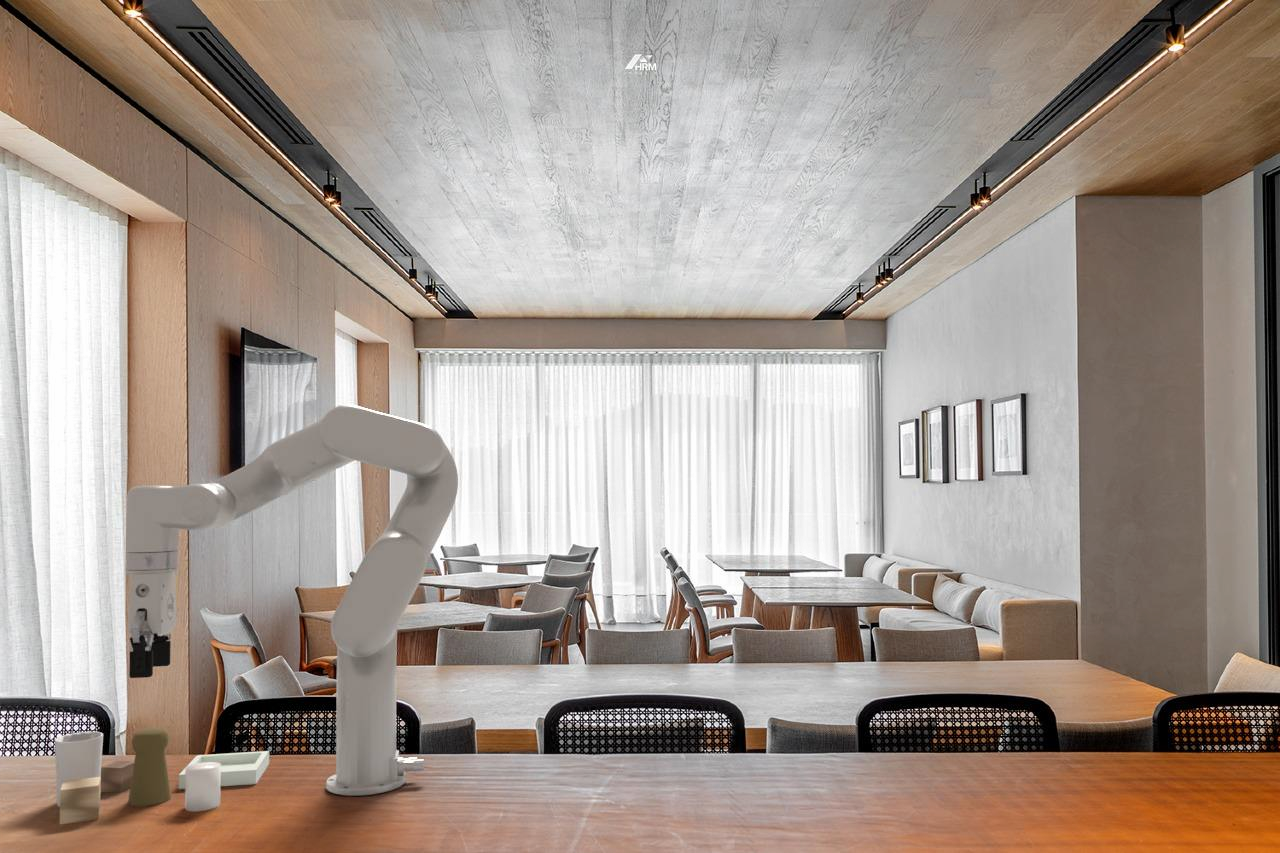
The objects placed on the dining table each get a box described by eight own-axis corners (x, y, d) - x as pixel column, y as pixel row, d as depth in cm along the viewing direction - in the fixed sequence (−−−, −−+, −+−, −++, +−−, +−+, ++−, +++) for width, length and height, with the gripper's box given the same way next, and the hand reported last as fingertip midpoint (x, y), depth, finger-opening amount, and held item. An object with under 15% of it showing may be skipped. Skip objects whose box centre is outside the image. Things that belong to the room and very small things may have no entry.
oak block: (100, 809, 152) (100, 776, 152) (98, 819, 148) (99, 785, 148) (62, 815, 150) (63, 781, 150) (59, 825, 145) (60, 790, 146)
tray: (269, 764, 176) (269, 750, 176) (256, 783, 164) (256, 769, 164) (196, 768, 173) (197, 755, 173) (178, 789, 162) (178, 774, 162)
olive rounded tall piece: (153, 807, 152) (154, 734, 153) (119, 805, 154) (120, 733, 154) (179, 795, 158) (180, 725, 159) (145, 793, 160) (146, 724, 160)
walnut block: (137, 785, 164) (137, 761, 164) (120, 793, 160) (121, 768, 161) (115, 784, 165) (115, 760, 165) (98, 792, 161) (99, 767, 161)
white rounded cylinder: (223, 799, 156) (224, 761, 156) (216, 810, 151) (216, 769, 151) (189, 802, 155) (190, 763, 155) (181, 812, 150) (181, 772, 150)
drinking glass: (112, 797, 158) (113, 733, 159) (75, 810, 152) (77, 743, 152) (80, 793, 160) (81, 730, 161) (43, 806, 154) (44, 740, 154)
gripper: (161, 566, 150) (160, 680, 149) (191, 558, 167) (189, 661, 166) (108, 567, 149) (106, 683, 148) (143, 559, 166) (141, 663, 165)
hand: (150, 671), depth 157 cm, fingers open, 9 cm apart
